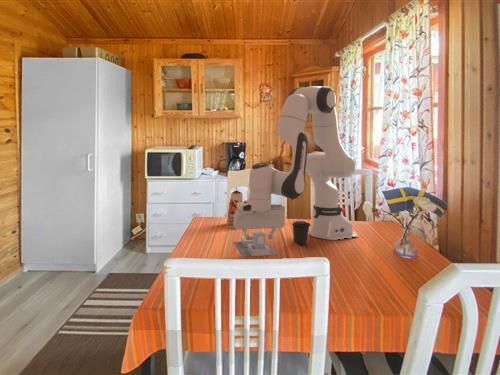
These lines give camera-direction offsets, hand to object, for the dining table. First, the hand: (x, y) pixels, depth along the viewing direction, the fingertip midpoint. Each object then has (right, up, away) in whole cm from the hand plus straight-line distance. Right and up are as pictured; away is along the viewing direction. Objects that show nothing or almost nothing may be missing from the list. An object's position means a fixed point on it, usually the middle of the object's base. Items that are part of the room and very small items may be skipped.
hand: (258, 239), depth 159 cm
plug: (0, -6, +1) cm, 6 cm away
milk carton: (-11, +1, +46) cm, 48 cm away
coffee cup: (+18, -5, +17) cm, 26 cm away
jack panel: (-2, -6, +7) cm, 9 cm away
